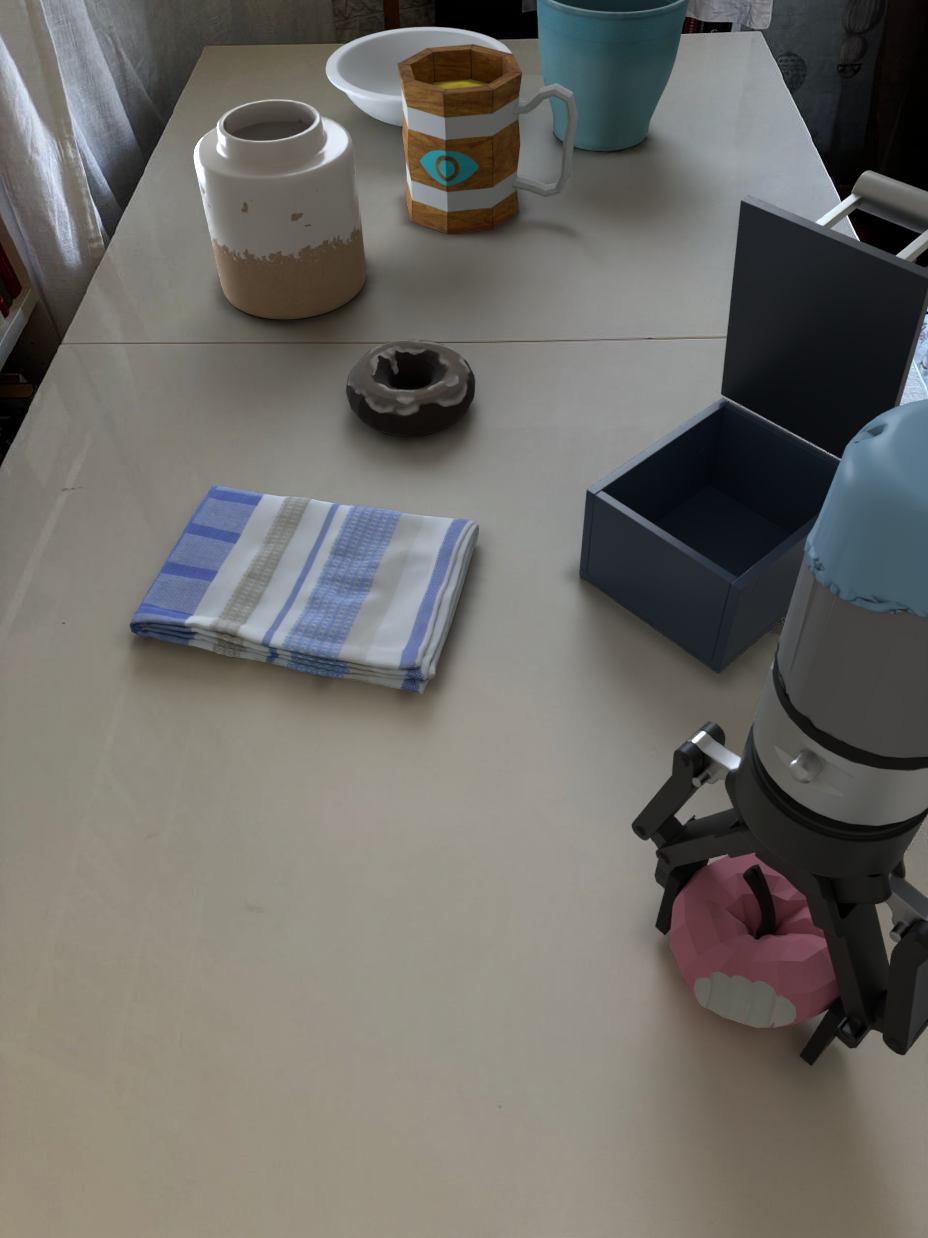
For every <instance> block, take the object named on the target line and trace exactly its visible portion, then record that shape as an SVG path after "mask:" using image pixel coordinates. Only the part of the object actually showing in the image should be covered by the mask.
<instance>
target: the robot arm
mask: <svg viewBox="0 0 928 1238" xmlns="http://www.w3.org/2000/svg"><path fill="white" fill-rule="evenodd" d="M804 551H805V554H804V558H803V561H802V565H801V568H800V572H799V575H798V579H797V582H796V585H795V589H794V592H793V596H792V599H791V602H790V606H789V609H788V613H787V615H786V616H785V619H784V623H783V627H782V630H781V633H780V637H779V640H778V642H777V646H776V648H775V652H774V656H773V658H772V661H771V665H770V668H769V671H768V673H767V677H766V680H765V684H764V686H763V689H762V692H761V694H760V698H759V702H758V705H757V708H756V710H755V714H754V720H753V722H752V724H751V726H750V729H749V732H748V734H747V738H746V741H745V745H744V748H743V750H742V754H741V756H740V755H738V754H736V753H734V751H732V750H730V749H729V748H727V747H725V746H726V740H727V737H726V733H725V731H724V730H723V728H722V727H721V726H720V725H719V724H717V723H716V722H713V721H706V723H704V724H703V725H702V726H701V727H700V728H699V729H698V730H696V731H695V732H694V733H693V734H692V735H691V736H690V737H689V738H688V739H686V740H685V741H684V742H683V743H682V744H681V745H679V747H677V748H676V749H675V750H674V752H673V757H672V768H671V776H669V778H668V779H667V780H666V782H664V784H663V785H662V786H661V787H660V788H659V790H658V791H657V792H656V794H655V795H654V796H653V797H652V798H651V800H650V801H649V802H648V803H647V804H646V806H644V808H643V809H642V810H641V811H640V813H638V815H637V817H636V818H635V819H634V820H632V823H631V824H630V825H631V826H630V827H631V829H632V831H633V833H634V834H635V835H636V836H637V837H638V838H639V839H640V840H642V841H648V840H649V839H650V840H651V841H652V842H653V844H654V845H655V846H656V848H657V849H656V850H655V856H656V858H657V862H656V867H655V871H654V879H655V883H657V884H658V885H659V886H660V887H662V888H663V889H664V891H663V894H662V897H661V902H660V906H659V909H658V912H657V917H656V921H655V925H654V927H655V928H656V929H657V930H658V931H659V932H660V933H661V934H662V935H663V936H666V935H667V934H668V933H670V931H671V920H672V908H673V904H674V901H675V899H676V897H677V896H678V894H679V893H680V892H681V890H682V889H683V887H684V886H685V885H686V883H687V882H688V880H689V879H690V877H691V876H692V875H693V873H694V872H695V871H697V870H699V869H700V868H702V867H704V866H706V865H708V864H709V861H710V859H714V858H718V857H723V856H729V857H730V858H735V857H739V856H743V855H747V854H753V853H756V854H755V856H756V857H757V858H758V859H759V860H761V861H762V862H763V863H764V864H766V865H767V866H768V867H770V868H771V869H773V870H775V871H776V872H778V873H780V874H781V875H783V876H784V877H785V878H786V879H787V880H788V881H789V882H790V883H791V884H792V885H793V886H794V887H795V888H796V889H797V890H798V891H799V892H801V893H802V894H803V895H804V896H805V897H806V900H807V904H808V908H809V911H810V915H811V919H812V922H813V925H814V926H815V927H817V928H819V929H822V930H823V932H824V936H825V940H826V943H827V947H828V951H829V955H830V958H831V962H832V966H833V970H834V973H835V977H836V981H837V985H838V988H839V992H840V997H839V998H838V999H837V1000H836V1001H835V1003H834V1004H833V1005H832V1006H831V1007H830V1009H828V1010H827V1011H826V1013H825V1014H824V1016H823V1017H822V1019H821V1021H820V1023H818V1025H817V1027H816V1029H815V1031H814V1032H813V1033H812V1035H811V1037H810V1038H809V1039H808V1041H807V1043H806V1044H805V1046H804V1047H803V1049H802V1051H801V1052H800V1054H799V1057H800V1058H801V1059H802V1060H803V1061H804V1062H805V1063H807V1064H808V1065H809V1066H810V1067H812V1066H813V1065H814V1064H815V1063H816V1062H817V1060H818V1059H819V1058H820V1057H821V1055H822V1054H823V1053H824V1052H825V1050H826V1049H827V1048H828V1047H829V1045H830V1044H831V1043H832V1042H833V1041H834V1039H835V1038H837V1039H838V1040H839V1041H840V1042H841V1043H843V1044H844V1045H845V1046H846V1047H847V1048H849V1050H851V1049H857V1048H858V1047H859V1045H860V1044H861V1043H862V1042H863V1040H864V1039H865V1038H866V1037H867V1036H868V1034H869V1033H870V1032H871V1031H876V1032H879V1033H880V1034H882V1041H883V1043H884V1044H885V1045H886V1046H887V1048H888V1049H890V1050H891V1051H892V1052H893V1053H895V1054H897V1055H899V1056H905V1055H906V1054H907V1053H908V1052H909V1050H910V1049H911V1048H912V1047H913V1045H914V1044H915V1043H916V1042H917V1041H918V1039H919V1038H920V1036H921V1035H922V1034H923V1033H924V1032H925V1030H926V1029H927V1028H928V897H927V896H926V895H924V894H923V893H922V892H921V891H920V890H919V889H917V888H916V887H915V886H913V885H912V884H911V882H909V881H908V880H906V874H907V873H906V865H905V860H904V856H905V853H906V851H908V850H907V849H908V848H909V847H910V845H911V843H912V842H913V839H914V838H915V837H916V835H917V833H918V831H920V828H921V827H922V825H923V823H924V821H925V820H926V818H927V816H928V398H925V399H920V400H915V401H910V402H907V403H903V404H900V406H897V407H895V408H893V409H891V410H889V411H886V412H884V413H882V414H881V415H879V416H877V417H876V418H875V419H873V420H872V421H871V422H869V423H868V424H867V425H865V426H864V427H863V428H862V429H861V430H860V431H859V432H858V434H857V435H856V436H855V437H854V438H853V439H852V440H851V441H850V442H849V443H848V445H847V446H846V448H845V451H844V453H843V456H842V458H841V459H840V463H839V466H838V468H837V471H836V474H835V476H834V479H833V481H832V484H831V486H830V489H829V491H828V494H827V497H826V499H825V502H824V504H823V507H822V509H821V512H820V514H819V517H818V519H817V521H816V523H815V525H814V527H813V528H812V530H811V532H810V533H809V535H808V537H807V540H806V544H805V548H804ZM719 780H722V781H724V786H725V787H724V788H725V791H726V793H727V796H728V798H729V800H730V803H731V805H732V808H729V809H726V810H722V811H719V812H716V813H713V814H709V815H707V816H703V817H700V818H697V819H696V814H693V816H691V817H690V818H689V819H688V820H687V821H686V822H685V823H684V824H682V822H681V821H680V820H679V819H678V818H677V817H676V816H675V815H677V813H678V812H679V811H680V810H681V809H682V808H683V807H684V805H686V804H687V802H689V800H690V799H691V798H692V797H693V796H694V794H695V793H696V792H697V791H698V790H699V789H700V788H702V787H703V786H704V785H705V784H706V783H707V784H710V785H714V784H716V782H718V781H719ZM883 903H885V904H886V905H887V906H888V907H889V909H890V910H891V913H892V916H891V922H892V923H891V924H892V925H893V928H892V929H891V930H890V931H889V933H888V935H889V938H890V939H891V940H892V941H893V942H894V943H896V944H895V945H894V947H893V949H892V951H891V953H890V958H888V957H889V956H888V953H887V949H886V945H885V940H884V937H883V931H882V928H881V923H880V919H879V914H878V911H877V906H876V905H879V904H883Z"/></svg>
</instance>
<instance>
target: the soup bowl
mask: <svg viewBox="0 0 928 1238" xmlns="http://www.w3.org/2000/svg"><path fill="white" fill-rule="evenodd" d="M470 44H475V45H479V46H483V47H487V48H491V49H495V50H499V51H503V52H507V53H511V54H513V52H512V51H511V49H510V48H509V47H507V46H506V45H505V44H504V43H503V42H501V41H499V40H497V39H496V38H494V37H491V36H489V35H486V34H483V33H480V32H476V31H471V30H468V29H467V30H466V29H461V28H454V27H442V26H441V27H439V26H421V27H420V26H415V27H403V28H396V29H388V30H384V31H379V32H375V33H371V34H368V35H365V36H362V37H358V38H356V39H353V40H351V41H349V42H347V43H345V44H344V45H342V46H340V47H338V48H337V49H336V50H335V51H334V52H332V54H331V55H330V56H329V57H328V59H327V62H326V63H325V64H326V65H325V74H326V76H327V79H328V80H329V81H330V82H331V84H332V85H333V86H334V87H336V88H337V89H338V90H340V91H342V92H344V93H345V94H346V95H347V97H348V98H349V99H350V100H351V101H352V103H353V104H354V105H355V106H356V107H358V109H360V110H361V111H363V112H364V113H365V114H367V115H368V116H371V117H372V118H373V119H374V120H375V119H376V120H378V121H380V122H382V123H386V124H389V125H392V126H398V127H403V103H402V88H401V82H400V76H399V70H398V65H397V64H398V63H400V62H402V61H403V60H405V59H407V58H409V57H411V56H413V55H415V54H417V53H418V52H420V51H422V50H424V49H426V48H433V47H445V46H457V45H470Z"/></svg>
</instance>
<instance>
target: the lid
mask: <svg viewBox="0 0 928 1238" xmlns="http://www.w3.org/2000/svg"><path fill="white" fill-rule="evenodd" d="M850 193H851V194H850V195H849V196H848V197H846V198H844V200H842V201H841V202H840V203H839V204H837V205H836V206H834V207H833V208H832V209H831V210H829V211H828V212H827V213H825V214H824V215H823V216H822V217H820V218H819V219H818V220H816V221H815V222H814V221H813V220H810V219H808V218H805V217H802V216H801V215H798V214H795V213H794V212H793V213H792V212H790V211H788V210H785V209H784V208H781V207H778V206H776V205H774V204H772V203H769V202H766V201H764V200H763V199H759V198H758V197H754V196H752V195H750V194H749V195H748V194H747V195H746V196H745V197H743V198H742V199H741V200H740V205H739V215H738V223H737V224H738V225H737V234H736V244H735V254H734V264H733V271H732V282H731V290H730V291H731V293H730V301H729V312H728V321H727V330H726V331H727V332H726V339H725V349H724V361H723V369H722V377H721V378H722V379H721V387H720V395H721V396H723V397H724V398H725V399H727V400H729V401H731V402H733V403H735V404H737V405H739V406H740V407H742V408H744V409H746V410H748V411H750V412H752V413H753V414H755V415H757V416H759V417H761V418H763V419H765V420H766V421H768V422H770V423H772V424H774V425H776V426H777V427H779V428H781V429H783V430H785V431H787V432H789V433H790V434H792V435H794V436H796V437H798V438H800V439H802V440H803V441H805V442H807V443H809V444H811V445H813V446H815V447H816V448H818V449H820V450H822V451H824V452H826V453H827V454H829V455H831V456H833V457H835V458H837V459H839V460H841V458H842V456H843V453H844V451H845V448H846V446H847V445H848V443H849V442H850V441H851V440H852V439H853V438H854V437H855V436H856V435H857V434H858V432H859V431H860V430H861V429H862V428H863V427H864V426H865V425H867V424H868V423H869V422H871V421H872V420H873V419H875V418H876V417H877V416H879V415H881V414H882V413H884V412H886V411H889V410H891V409H893V408H895V407H897V406H900V405H901V402H902V398H903V395H904V391H905V388H906V384H907V381H908V379H909V378H908V377H909V374H910V371H911V368H912V365H913V360H914V357H915V354H916V351H917V346H918V343H919V340H920V336H921V333H922V329H923V326H924V322H925V319H926V315H927V312H928V268H926V267H924V266H921V265H919V264H917V263H914V262H913V261H914V260H915V259H917V258H918V257H919V256H921V254H922V253H924V252H925V251H926V250H927V249H928V191H927V190H924V189H921V188H919V187H915V186H913V185H910V184H907V183H905V182H902V181H901V180H900V181H899V180H898V179H897V180H896V179H894V178H891V177H888V176H886V175H884V174H880V173H879V172H875V171H872V170H870V169H869V170H866V171H864V172H863V173H862V174H861V175H860V176H859V178H857V180H856V181H855V184H854V186H853V188H852V190H851V192H850ZM856 209H858V210H860V211H863V212H866V213H868V214H870V215H873V216H876V217H878V218H880V219H883V220H885V221H888V222H890V223H893V224H896V225H898V226H901V227H904V228H906V229H908V230H910V231H913V232H916V233H919V234H920V235H919V236H918V237H917V238H915V240H913V241H912V242H911V243H909V244H908V245H907V246H906V247H905V248H904V249H902V250H901V251H900V252H898V253H897V254H896V255H895V254H893V253H891V252H887V251H885V250H883V249H880V248H878V247H875V246H873V245H870V244H868V243H866V242H863V241H861V240H858V239H857V238H854V237H851V236H849V235H847V234H844V233H842V232H840V231H837V230H834V229H833V227H834V226H835V225H837V224H839V223H840V222H841V221H842V220H843V219H844V218H846V217H847V216H848V215H850V214H851V213H852V212H854V211H855V210H856Z"/></svg>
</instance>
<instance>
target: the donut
mask: <svg viewBox="0 0 928 1238" xmlns="http://www.w3.org/2000/svg"><path fill="white" fill-rule="evenodd" d="M405 385H422V386H423V387H420V388H414V389H400V388H397V387H400V386H405ZM345 394H346V397H347V400H348V403H349V407H350V408H351V411H352V412H353V413H354V414H355V415H356V416H357V418H359V420H360V421H361V422H362V423H363V424H366V425H367V426H369V427H370V428H372V429H374V430H376V431H378V432H382V433H385V434H388V435H392V436H401V437H415V436H416V437H417V436H426V435H429V434H433V433H436V432H440V431H442V430H443V429H445V428H447V427H449V426H451V425H453V424H456V422H458V421H459V419H461V418H462V417H463V416H464V415H465V414H466V413H467V412H468V410H469V408H470V407H471V405H472V402H473V400H474V398H475V395H476V377H475V373H474V372H473V370H472V367H471V365H470V364H469V362H468V361H467V360H466V358H464V357H463V356H462V354H460V353H459V352H457V351H456V350H455V349H453V348H451V347H449V346H447V345H445V344H443V343H439V342H436V341H433V340H432V341H431V340H426V339H415V338H414V339H413V338H411V339H403V340H401V339H400V340H395V341H390V342H387V343H384V344H381V345H379V346H377V347H374V348H372V349H370V350H368V352H366V353H365V354H364V355H362V356H361V357H360V358H358V359H357V361H356V362H355V363H354V365H353V366H352V368H351V370H350V371H349V372H348V375H347V380H346V386H345Z"/></svg>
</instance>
